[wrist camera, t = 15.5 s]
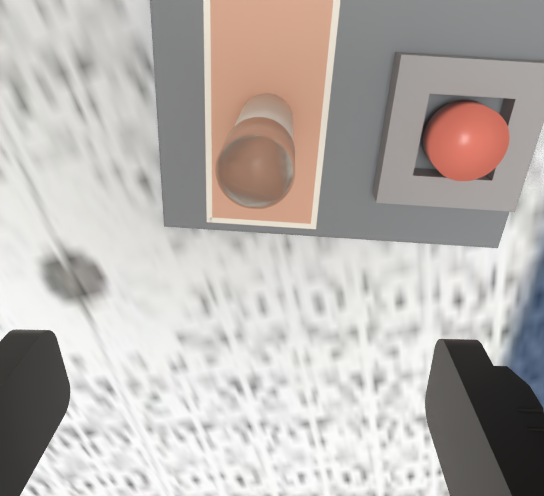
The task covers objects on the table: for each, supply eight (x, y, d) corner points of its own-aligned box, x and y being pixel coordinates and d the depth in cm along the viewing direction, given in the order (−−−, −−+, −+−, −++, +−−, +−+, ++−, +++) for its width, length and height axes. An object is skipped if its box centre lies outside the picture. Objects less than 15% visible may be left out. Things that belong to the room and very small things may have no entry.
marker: (237, 147, 31) (215, 206, 22) (238, 89, 29) (214, 129, 20) (292, 150, 31) (292, 211, 22) (296, 93, 29) (298, 135, 20)
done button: (416, 168, 30) (423, 178, 28) (430, 97, 28) (440, 104, 26) (485, 172, 30) (497, 183, 28) (505, 102, 28) (519, 108, 26)
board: (166, 221, 34) (158, 236, 32) (151, -31, 27) (139, -33, 25) (493, 242, 34) (506, 259, 32) (571, -6, 27) (594, -7, 24)
